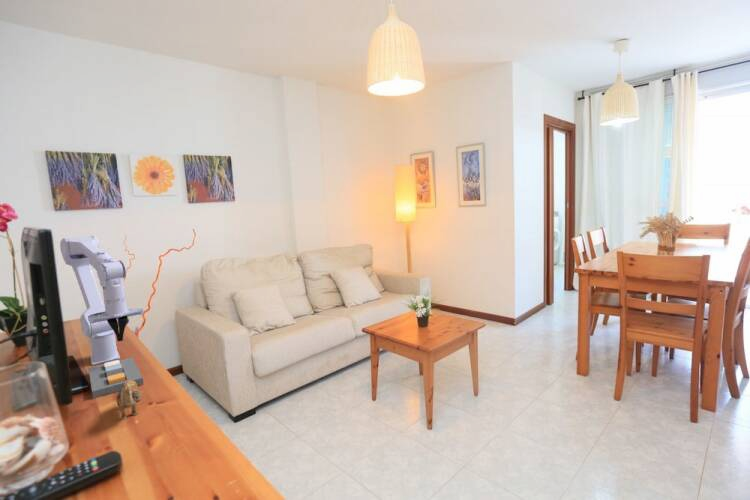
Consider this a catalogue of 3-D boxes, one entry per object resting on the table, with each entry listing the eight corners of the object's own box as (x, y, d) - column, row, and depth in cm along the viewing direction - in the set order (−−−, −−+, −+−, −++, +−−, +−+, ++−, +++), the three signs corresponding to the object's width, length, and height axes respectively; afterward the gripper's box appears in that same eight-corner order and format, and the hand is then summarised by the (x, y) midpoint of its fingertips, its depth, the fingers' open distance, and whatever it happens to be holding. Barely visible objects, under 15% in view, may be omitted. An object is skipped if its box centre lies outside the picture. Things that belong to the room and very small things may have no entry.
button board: (89, 373, 123) (88, 367, 122) (133, 363, 130) (132, 357, 130) (93, 398, 106) (92, 391, 106) (143, 384, 114) (142, 377, 113)
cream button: (104, 370, 123) (103, 363, 123) (119, 366, 126) (118, 359, 126) (105, 374, 120) (104, 367, 120) (121, 370, 123) (120, 363, 122)
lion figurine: (146, 419, 95) (141, 384, 94) (120, 427, 92) (115, 391, 90) (140, 396, 106) (136, 365, 105) (117, 402, 103) (112, 370, 102)
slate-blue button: (106, 375, 118) (105, 367, 118) (121, 371, 121) (120, 363, 120) (107, 379, 115) (106, 371, 115) (123, 375, 118) (122, 367, 117)
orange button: (108, 384, 113) (107, 376, 113) (124, 380, 116) (123, 372, 115) (109, 389, 110) (108, 381, 110) (126, 384, 113) (125, 376, 112)
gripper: (87, 306, 116) (93, 349, 117) (143, 297, 125) (147, 337, 126) (86, 301, 121) (92, 343, 123) (139, 293, 130) (144, 332, 132)
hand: (120, 340), depth 125 cm, fingers closed
